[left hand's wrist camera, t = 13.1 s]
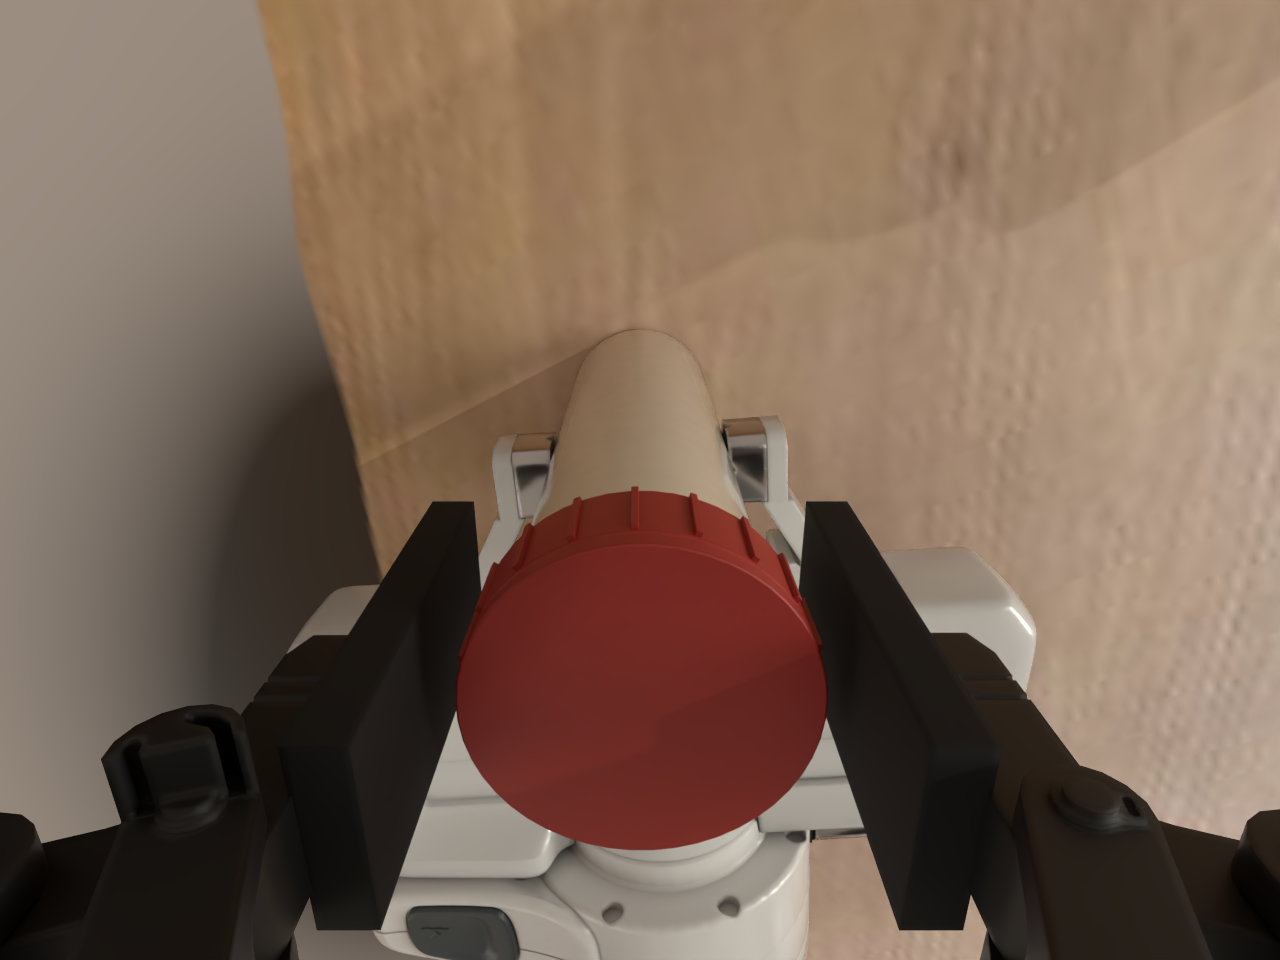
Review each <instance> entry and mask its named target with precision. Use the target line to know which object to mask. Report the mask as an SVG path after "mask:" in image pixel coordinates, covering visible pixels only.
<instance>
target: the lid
mask: <svg viewBox="0 0 1280 960" xmlns="http://www.w3.org/2000/svg"><path fill="white" fill-rule="evenodd" d="M474 611H475V612H474V614H473V617H472V620H471V622H470V625H469V627H468V630H467V633H466V635H465V638H464V641H463V643H462V646H461V649H460V651H459V654H458V658H457V661H459V662H460V664H459V669H458V674H457V678H456V692H455V704H456V713H457V721H458V725H459V728H460V732H461V736H462V739H463V742H464V744H465V747H466V749H467V751H468V753H469V756H470V758H471V760H472V761H473V763H474V765H475V766H476V768H477V769H478V771H479V773H480V774H481V776H482V777H483V778H484V780H485V781H486V782H487V783H488V784H489V785H490V787H491V788H492V789H493V790H494V791H495V793H497V794H498V795H499V796H500V797H501V798H502V799H503V800H504V801H505V802H506V803H507V804H508V805H510V806H511V807H512V808H513V809H515V810H516V811H518V812H519V813H520V814H522V815H523V816H525V817H526V818H527V819H529V820H531V821H533V822H534V823H536V824H538V825H540V826H542V827H543V828H545V829H547V830H550V831H552V832H554V833H557V834H559V835H561V836H564V837H566V838H569V839H572V840H576V841H579V842H582V843H586V844H590V845H595V846H600V847H605V848H611V849H622V850H661V849H671V848H678V847H683V846H688V845H693V844H697V843H701V842H704V841H707V840H710V839H713V838H717V837H719V836H722V835H724V834H726V833H729V832H731V831H733V830H735V829H738V828H740V827H741V826H743V825H745V824H747V823H748V822H750V821H752V820H754V819H755V818H757V817H758V816H760V815H761V814H762V813H764V812H765V811H767V810H768V809H769V808H771V807H772V806H773V805H775V804H776V803H777V802H778V801H779V800H780V799H781V798H782V797H783V796H784V795H785V794H786V793H787V792H788V791H789V790H790V789H791V788H792V787H793V785H794V784H795V783H796V782H797V781H798V779H799V778H800V777H801V776H802V774H803V773H804V771H805V769H806V768H807V766H808V765H809V763H810V761H811V760H812V758H813V756H814V754H815V751H816V749H817V747H818V744H819V742H820V740H821V736H822V732H823V729H824V725H825V721H826V715H827V705H828V688H827V676H826V672H825V667H824V663H823V658H822V656H821V653H820V651H821V650H824V647H823V643H822V641H821V638H820V636H819V633H818V631H817V628H816V626H815V623H814V621H813V618H812V615H811V613H810V610H809V608H808V605H807V603H806V600H805V598H804V597H803V598H801V595H800V593H799V590H798V587H797V585H796V582H795V580H794V577H793V574H792V572H791V569H790V567H789V564H788V561H787V559H786V557H785V555H784V554H783V553H780V554H779V555H778V554H777V553H776V552H775V551H774V549H773V548H772V547H771V546H770V544H769V543H768V542H767V541H766V540H765V539H764V538H762V537H761V536H760V535H759V534H758V533H757V532H756V531H755V530H754V529H753V528H751V526H750V523H749V520H748V519H747V518H746V517H744V516H742V517H741V519H739V518H737V517H736V516H734V515H732V514H730V513H728V512H726V511H725V510H723V509H721V508H719V507H717V506H714V505H712V504H709V503H706V502H704V501H701V500H698V497H697V494H694V493H690V495H689V497H687V496H683V495H679V494H675V493H666V492H659V491H639V487H638V486H632V487H631V491H625V492H617V493H609V494H604V495H600V496H596V497H592V498H588V499H584V500H582V499H581V497H580V496H579V497H577V498H574V500H573V504H571V505H569V506H566V507H564V508H562V509H560V510H558V511H557V512H555V513H553V514H551V515H549V516H547V517H546V518H544V519H543V520H541V521H540V522H539V523H537V524H536V525H534V526H533V525H532V524H531V523H529V524H528V525H526V526H525V528H524V531H523V534H522V536H521V537H520V538H519V539H518V540H517V541H516V542H515V543H514V544H513V545H512V547H511V548H510V549H509V550H508V552H507V553H506V554H505V556H504V557H503V558H502V559H501V561H500V563H499V564H498V563H496V562H493V564H492V566H491V568H490V571H489V573H488V576H487V578H486V581H485V584H484V586H483V589H482V592H481V594H480V597H479V600H478V602H477V605H476V607H475V610H474Z"/></svg>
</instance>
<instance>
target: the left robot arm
mask: <svg viewBox="0 0 1280 960" xmlns="http://www.w3.org/2000/svg"><path fill="white" fill-rule="evenodd" d="M481 592H482V591H481V579H480V568H479V556H478V545H477V533H476V522H475V510H474V502H432V504H431V505H430V507H429V508H428V510H427V512H426V513H425V515H424V516H423V518H422V519H421V521H420V523H419V524H418V526H417V527H416V529H415V530H414V532H413V534H412V535H411V537H410V538H409V540H408V541H407V543H406V545H405V546H404V548H403V549H402V551H401V552H400V554H399V556H398V557H397V559H396V560H395V562H394V563H393V565H392V567H391V568H390V570H389V571H388V573H387V574H386V576H385V578H384V579H383V581H382V582H381V584H380V585H379V587H378V589H377V590H376V592H375V593H374V595H373V596H372V598H371V599H370V601H369V603H368V604H367V606H366V607H365V609H364V610H363V612H362V614H361V615H360V617H359V618H358V620H357V621H356V623H355V625H354V626H353V628H352V629H351V631H350V632H349V634H348V635H313V636H312V637H310V638H309V639H307V640H306V641H304V642H303V643H302V644H300V645H299V646H297V647H296V648H294V649H293V650H292V651H290V652H289V653H287V654H286V655H285V656H284V657H283V659H282V660H281V661H280V663H279V664H278V666H277V667H276V668H275V669H274V671H273V672H272V674H271V675H270V676H269V678H268V683H264V684H263V686H262V687H261V688H260V690H259V691H258V692H257V694H256V695H255V696H254V701H253V702H250V703H249V705H248V706H247V707H246V709H245V710H244V711H243V713H242V714H241V715H239V714H238V713H237V712H236V711H235V710H233V709H232V708H228V707H223V706H218V705H214V704H210V705H196V706H187V707H183V708H180V709H176V710H172V711H169V712H165V713H161V714H159V715H157V716H155V717H153V718H151V719H149V720H147V721H145V722H142V723H140V724H138V725H136V726H135V727H133V728H132V729H131V730H129V731H128V732H127V733H125V734H124V735H122V736H121V737H120V738H119V739H117V740H116V741H114V743H113V744H112V745H111V747H110V748H109V749H108V751H107V752H106V753H105V755H104V756H103V757H102V758H101V761H102V764H103V767H104V770H105V773H106V776H107V779H108V782H109V785H110V788H111V791H112V795H113V798H114V801H115V804H116V807H117V810H118V813H119V816H120V819H121V824H119V825H116V826H112V827H109V828H106V829H102V830H98V831H93V832H89V833H85V834H80V835H76V836H72V837H68V838H63V839H59V840H55V841H51V842H46V843H42V844H41V841H40V839H39V836H38V834H37V831H36V828H35V826H34V824H33V823H32V822H30V821H29V820H28V819H27V818H25V817H24V816H23V815H20V814H10V813H1V812H0V960H299V958H298V952H297V945H296V941H295V936H294V930H295V927H296V925H297V923H298V921H299V919H300V917H301V914H302V912H303V910H304V908H305V906H306V904H307V901H308V899H309V897H310V900H311V905H312V910H313V914H314V919H315V923H316V928H317V930H381V928H382V925H383V922H384V919H385V916H386V913H387V910H388V908H389V905H390V902H391V899H392V896H393V893H394V890H395V887H396V884H397V881H398V878H399V876H400V873H401V870H402V867H403V864H404V861H405V858H406V855H407V852H408V849H409V847H410V844H411V841H412V838H413V835H414V832H415V829H416V826H417V823H418V820H419V817H420V815H421V812H422V809H423V806H424V803H425V800H426V797H427V794H428V791H429V788H430V785H431V783H432V780H433V777H434V774H435V771H436V768H437V765H438V762H439V759H440V756H441V753H442V751H443V748H444V745H445V742H446V739H447V736H448V733H449V730H450V727H451V724H452V721H453V719H454V716H455V713H456V704H455V692H456V678H457V674H458V669H459V664H460V662H459V661H457V658H458V654H459V651H460V649H461V646H462V643H463V641H464V638H465V635H466V633H467V630H468V627H469V625H470V622H471V620H472V617H473V614H474V612H475V611H474V610H475V607H476V605H477V602H478V600H479V597H480V594H481ZM799 593H800V595H801V598H803V597H804V598H805V600H806V603H807V605H808V608H809V610H810V613H811V615H812V618H813V621H814V623H815V626H816V628H817V631H818V633H819V636H820V638H821V641H822V643H823V647H824V650H821V651H820V653H821V656H822V658H823V663H824V667H825V672H826V676H827V688H828V705H827V715H826V719H827V722H828V724H829V727H830V730H831V733H832V736H833V739H834V742H835V745H836V748H837V751H838V753H839V756H840V759H841V762H842V765H843V768H844V771H845V774H846V777H847V780H848V783H849V785H850V788H851V791H852V794H853V797H854V800H855V803H856V806H857V809H858V812H859V815H860V817H861V820H862V823H863V826H864V829H865V832H866V835H867V838H868V841H869V844H870V847H871V849H872V852H873V855H874V858H875V861H876V864H877V867H878V870H879V873H880V876H881V879H882V881H883V884H884V887H885V890H886V893H887V896H888V899H889V902H890V905H891V908H892V910H893V913H894V916H895V919H896V922H897V925H898V928H899V930H963V928H964V923H965V919H966V914H967V910H968V905H969V900H970V896H971V895H972V898H973V900H974V902H975V904H976V906H977V908H978V911H979V913H980V915H981V917H982V919H983V921H984V924H985V926H986V928H987V932H986V936H985V940H984V945H983V949H982V953H981V958H980V960H1280V809H1279V810H1269V811H1260V812H1258V813H1257V814H1256V815H1254V816H1253V817H1252V818H1250V819H1249V820H1248V821H1247V823H1246V826H1245V828H1244V831H1243V834H1242V836H1241V839H1240V841H1239V840H1235V839H1231V838H1227V837H1222V836H1218V835H1214V834H1209V833H1205V832H1201V831H1196V830H1192V829H1188V828H1183V827H1179V826H1175V825H1172V824H1168V823H1165V822H1162V821H1158V819H1157V817H1156V816H1155V814H1154V813H1153V811H1152V810H1151V808H1150V807H1149V805H1148V804H1147V802H1146V801H1144V800H1143V799H1142V798H1141V797H1140V796H1138V795H1137V794H1136V793H1135V792H1134V791H1133V790H1131V789H1130V788H1129V787H1128V786H1127V785H1125V784H1123V783H1121V782H1119V781H1117V780H1115V779H1114V778H1112V777H1110V776H1108V775H1106V774H1104V773H1102V772H1099V771H1096V770H1093V769H1090V768H1086V767H1083V766H1080V765H1079V764H1078V763H1077V761H1076V760H1075V759H1074V757H1073V756H1072V755H1071V753H1070V752H1069V751H1068V749H1067V748H1066V747H1065V745H1064V744H1063V743H1062V741H1061V740H1060V739H1059V737H1058V736H1057V735H1056V733H1055V732H1054V731H1053V729H1052V728H1051V727H1050V725H1049V724H1048V723H1047V721H1046V720H1045V719H1044V717H1043V716H1042V715H1041V713H1040V712H1039V711H1038V709H1037V708H1036V707H1035V705H1034V704H1033V702H1032V701H1031V700H1027V694H1026V693H1025V692H1024V690H1023V689H1022V688H1021V686H1020V685H1019V684H1018V682H1017V681H1016V680H1013V679H1012V674H1011V673H1010V672H1009V670H1008V669H1007V668H1006V666H1005V665H1004V664H1003V662H1002V661H1001V660H1000V658H999V657H998V656H997V654H996V653H995V652H994V651H992V650H991V649H989V648H988V647H987V646H985V645H984V644H982V643H981V642H979V641H978V640H977V639H975V638H974V637H972V636H971V635H969V634H968V633H931V632H930V631H929V629H928V628H927V626H926V625H925V623H924V621H923V620H922V618H921V617H920V615H919V614H918V612H917V611H916V609H915V607H914V606H913V604H912V603H911V601H910V600H909V598H908V596H907V595H906V593H905V592H904V590H903V589H902V587H901V585H900V584H899V582H898V581H897V579H896V578H895V576H894V574H893V573H892V571H891V570H890V568H889V567H888V565H887V563H886V562H885V560H884V559H883V557H882V556H881V554H880V552H879V551H878V549H877V548H876V546H875V545H874V543H873V541H872V540H871V538H870V537H869V535H868V534H867V532H866V530H865V529H864V527H863V526H862V524H861V523H860V521H859V519H858V518H857V516H856V515H855V513H854V512H853V510H852V508H851V507H850V505H849V504H848V502H806V510H805V522H804V533H803V545H802V556H801V568H800V579H799Z"/></svg>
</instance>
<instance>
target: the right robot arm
mask: <svg viewBox="0 0 1280 960" xmlns="http://www.w3.org/2000/svg"><path fill="white" fill-rule="evenodd" d="M721 432H722V435H723V438H724V442H725V445H726V448H727V451H728V454H729V457H730V460H731V463H732V467H733V470H734V473H735V476H736V479H737V482H738V485H739V488H740V492H741V495H742V498H743V501H744V502H762V504H763V505H764V507H765V508H766V510H767V511H768V513H769V514H770V516H771V517H772V519H773V520H774V522H775V523H776V525H777V526H778V528H779V529H771V530H769V531H768V532H767V533H766V541H767V542H768V543H769V544H770V546H771V547H772V548H773V549H774V551H775V552H776V553H777V554H778V555H779V554H780V553H783V554H784V555H785V557H786V559H787V561H788V564H789V567H790V569H791V572H792V574H793V577H794V580H795V582H796V585H797V587H798V590H799V579H800V568H801V556H802V545H803V533H804V522H805V511H804V509H803V508H802V506H801V505H800V503H799V502H798V500H797V498H796V497H795V495H794V494H793V492H792V491H791V489H790V488H789V486H788V445H787V438H786V432H785V428H784V426H783V424H782V422H781V421H780V419H779V417H778V416H765V417H751V418H739V419H727V420H722V423H721ZM556 442H557V437H556V433H555V432H551V433H533V434H510V435H502V436H499V438H498V440H497V442H496V443H495V445H494V447H493V452H492V470H493V477H494V483H495V490H496V496H497V503H498V509H499V511H498V513H497V516H496V518H495V520H494V522H493V525H492V527H491V529H490V531H489V534H488V536H487V538H486V540H485V543H484V545H483V547H482V549H481V552H480V554H479V568H480V579H481V591H482V589H483V586H484V584H485V581H486V578H487V576H488V573H489V571H490V568H491V566H492V564H493V562H496V563H498V564H499V563H500V561H501V559H502V558H503V557H504V556H505V554H506V553H507V552H508V550H509V549H510V548H511V547H512V545H513V544H514V543H515V540H516V538H517V536H518V534H519V532H520V529H521V527H522V525H523V523H524V521H525V518H529V517H533V516H534V513H535V510H536V507H537V503H538V500H539V497H540V494H541V491H542V487H543V484H544V481H545V478H546V474H547V471H548V468H549V465H550V462H551V458H552V455H553V452H554V449H555V446H556ZM880 554H881V556H882V557H883V559H884V560H885V562H886V563H887V565H888V567H889V568H890V570H891V571H892V573H893V574H894V576H895V578H896V579H897V581H898V582H899V584H900V585H901V587H902V589H903V590H904V592H905V593H906V595H907V596H908V598H909V600H910V601H911V603H912V604H913V606H914V607H915V609H916V611H917V612H918V614H919V615H920V617H921V618H922V620H923V621H924V623H925V625H926V626H927V628H928V629H929V631H930V632H931V633H968V634H969V635H971V636H972V637H974V638H975V639H977V640H978V641H979V642H981V643H982V644H984V645H985V646H987V647H988V648H989V649H991V650H992V651H994V652H995V653H996V654H997V656H998V657H999V658H1000V660H1001V661H1002V662H1003V664H1004V665H1005V666H1006V668H1007V669H1008V670H1009V672H1010V673H1011V674H1012V679H1013V680H1016V681H1017V682H1018V684H1019V685H1020V686H1021V688H1022V689H1023V690H1024V692H1026V689H1027V685H1028V681H1029V677H1030V672H1031V668H1032V663H1033V659H1034V654H1035V647H1036V627H1035V624H1034V621H1033V619H1032V617H1031V615H1030V613H1029V611H1028V609H1027V608H1026V606H1025V605H1024V603H1023V602H1022V601H1021V599H1020V598H1019V597H1018V595H1017V594H1016V593H1015V592H1014V591H1013V589H1012V588H1011V587H1010V586H1009V584H1008V583H1007V582H1006V581H1005V580H1004V579H1003V578H1002V577H1001V576H1000V575H999V574H998V573H997V572H996V571H995V570H994V569H993V568H991V567H990V566H989V565H988V564H987V563H986V562H985V561H984V560H983V559H982V558H980V557H979V556H978V555H977V554H976V553H975V552H973V551H972V550H969V549H967V548H964V547H941V548H927V549H912V550H897V551H882V552H880ZM378 587H379V585H365V586H350V587H344V588H340V589H337V590H336V591H334V592H333V593H332V594H330V595H329V596H328V597H327V598H326V600H325V601H324V602H323V603H322V604H321V606H320V607H319V608H318V609H317V610H316V612H315V613H314V614H313V615H312V616H311V618H310V619H309V620H308V621H307V622H306V624H305V625H304V626H303V628H302V629H301V631H300V632H299V634H298V635H297V637H296V638H295V640H294V641H293V643H292V645H291V646H290V648H289V650H288V652H287V653H289V652H290V651H292V650H293V649H294V648H296V647H297V646H299V645H300V644H302V643H303V642H304V641H306V640H307V639H309V638H310V637H312V636H313V635H348V634H349V632H350V631H351V629H352V628H353V626H354V625H355V623H356V621H357V620H358V618H359V617H360V615H361V614H362V612H363V610H364V609H365V607H366V606H367V604H368V603H369V601H370V599H371V598H372V596H373V595H374V593H375V592H376V590H377V589H378ZM859 837H867V835H866V832H865V829H864V826H863V823H862V820H861V817H860V815H859V812H858V809H857V806H856V803H855V800H854V797H853V794H852V791H851V788H850V785H849V783H848V780H847V777H846V774H845V771H844V768H843V765H842V762H841V759H840V756H839V753H838V751H837V748H836V745H835V742H834V739H833V736H832V733H831V730H830V727H829V724H828V722H827V719H826V721H825V725H824V729H823V732H822V736H821V740H820V742H819V744H818V747H817V749H816V751H815V754H814V756H813V758H812V760H811V761H810V763H809V765H808V766H807V768H806V769H805V771H804V773H803V774H802V776H801V777H800V778H799V779H798V781H797V782H796V783H795V784H794V785H793V787H792V788H791V789H790V790H789V791H788V792H787V793H786V794H785V795H784V796H783V797H782V798H781V799H780V800H779V801H778V802H777V803H776V804H775V805H773V806H772V807H771V808H769V809H768V810H767V811H765V812H764V813H762V814H761V815H760V816H758V817H757V818H755V819H754V820H752V821H750V822H748V823H747V824H745V825H743V826H741V827H740V828H738V829H735V830H733V831H731V832H729V833H726V834H724V835H722V836H719V837H717V838H713V839H710V840H707V841H704V842H701V843H697V844H693V845H688V846H683V847H678V848H671V849H661V850H622V849H611V848H605V847H600V846H595V845H590V844H586V843H582V842H579V841H576V840H572V839H569V838H566V837H564V836H561V835H559V834H557V833H554V832H552V831H550V830H547V829H545V828H543V827H542V826H540V825H538V824H536V823H534V822H533V821H531V820H529V819H527V818H526V817H525V816H523V815H522V814H520V813H519V812H518V811H516V810H515V809H513V808H512V807H511V806H510V805H508V804H507V803H506V802H505V801H504V800H503V799H502V798H501V797H500V796H499V795H498V794H497V793H495V791H494V790H493V789H492V788H491V787H490V785H489V784H488V783H487V782H486V781H485V780H484V778H483V777H482V776H481V774H480V773H479V771H478V769H477V768H476V766H475V765H474V763H473V761H472V760H471V758H470V756H469V753H468V751H467V749H466V747H465V744H464V742H463V739H462V736H461V732H460V728H459V725H458V721H457V713H455V716H454V719H453V721H452V724H451V727H450V730H449V733H448V736H447V739H446V742H445V745H444V748H443V751H442V753H441V756H440V759H439V762H438V765H437V768H436V771H435V774H434V777H433V780H432V783H431V785H430V788H429V791H428V794H427V797H426V800H425V803H424V806H423V809H422V812H421V815H420V817H419V820H418V823H417V826H416V829H415V832H414V835H413V838H412V841H411V844H410V847H409V849H408V852H407V855H406V858H405V861H404V864H403V867H402V870H401V873H400V876H399V878H398V881H397V884H396V887H395V890H394V893H393V896H392V899H391V902H390V905H389V908H388V910H387V913H386V916H385V919H384V922H383V925H382V928H381V930H373V932H374V934H375V936H376V938H377V939H378V940H379V942H380V943H381V944H383V945H384V946H385V947H387V948H389V949H391V950H393V951H396V952H400V953H403V954H408V955H414V956H419V957H425V958H431V959H437V960H805V958H806V953H807V947H808V936H809V874H810V857H809V847H810V843H812V840H819V839H820V840H827V839H844V838H859Z"/></svg>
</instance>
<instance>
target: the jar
mask: <svg viewBox="0 0 1280 960" xmlns="http://www.w3.org/2000/svg"><path fill="white" fill-rule="evenodd" d="M632 486H638V487H639V491H659V492H666V493H675V494H679V495H683V496H687V497H689V495H690V493H694V494H697V497H698V500H701V501H704V502H706V503H709V504H712V505H714V506H717V507H719V508H721V509H723V510H725V511H726V512H728V513H730V514H732V515H734V516H736V517H737V518H739V519H741V517H742V516H744V517H746V518H747V519H748V520H749V516H748V513H747V510H746V507H745V504H744V501H743V498H742V495H741V492H740V488H739V485H738V482H737V479H736V476H735V473H734V470H733V467H732V463H731V460H730V457H729V454H728V451H727V448H726V445H725V442H724V438H723V435H722V432H721V429H720V426H719V423H718V420H717V417H716V414H715V410H714V407H713V404H712V401H711V398H710V395H709V392H708V389H707V385H706V382H705V379H704V376H703V373H702V371H701V368H700V366H699V364H698V362H697V361H696V359H695V357H694V356H693V355H692V354H691V352H690V351H689V350H688V349H687V348H686V347H685V346H684V345H682V344H681V343H680V342H678V341H677V340H675V339H674V338H672V337H670V336H668V335H665V334H663V333H660V332H656V331H651V330H630V331H625V332H621V333H618V334H615V335H613V336H611V337H609V338H607V339H605V340H604V341H602V342H601V343H600V344H598V345H597V346H596V347H595V348H594V349H593V350H592V351H591V352H590V353H589V354H588V356H587V357H586V358H585V360H584V362H583V363H582V365H581V367H580V370H579V372H578V375H577V378H576V381H575V384H574V388H573V391H572V394H571V397H570V401H569V404H568V407H567V410H566V413H565V417H564V420H563V423H562V426H561V429H560V433H559V436H558V439H557V442H556V446H555V449H554V452H553V455H552V458H551V462H550V465H549V468H548V471H547V474H546V478H545V481H544V484H543V487H542V491H541V494H540V497H539V500H538V503H537V507H536V510H535V513H534V516H533V519H532V523H531V524H532V525H533V526H534V525H536V524H537V523H539V522H540V521H541V520H543V519H544V518H546V517H547V516H549V515H551V514H553V513H555V512H557V511H558V510H560V509H562V508H564V507H566V506H569V505H571V504H573V500H574V498H577V497H579V496H580V497H581V499H582V500H584V499H588V498H592V497H596V496H600V495H604V494H609V493H617V492H625V491H631V487H632ZM749 523H750V520H749ZM750 526H751V523H750ZM751 528H752V526H751Z"/></svg>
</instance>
